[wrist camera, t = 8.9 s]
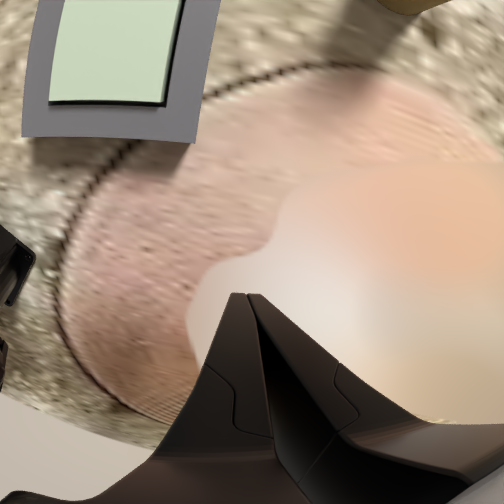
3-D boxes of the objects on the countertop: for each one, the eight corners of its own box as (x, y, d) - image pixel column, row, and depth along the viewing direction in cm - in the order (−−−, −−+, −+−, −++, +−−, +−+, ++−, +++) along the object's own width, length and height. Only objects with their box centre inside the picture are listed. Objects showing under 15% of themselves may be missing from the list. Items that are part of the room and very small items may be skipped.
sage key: (166, 100, 17) (159, 102, 14) (70, 97, 15) (48, 100, 13) (183, 5, 14) (181, -11, 11) (85, 5, 13) (67, -8, 10)
